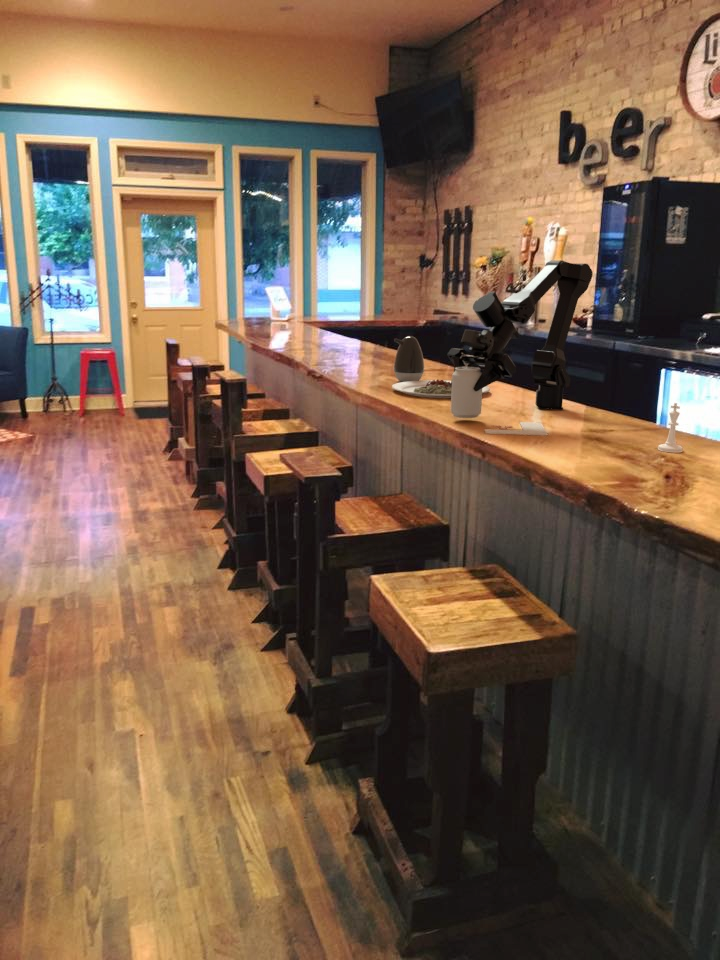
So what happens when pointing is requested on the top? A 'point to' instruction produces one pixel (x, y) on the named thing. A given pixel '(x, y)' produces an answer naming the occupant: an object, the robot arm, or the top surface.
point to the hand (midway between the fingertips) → (463, 388)
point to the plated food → (428, 388)
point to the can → (465, 393)
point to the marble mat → (527, 428)
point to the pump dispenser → (408, 360)
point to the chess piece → (672, 433)
